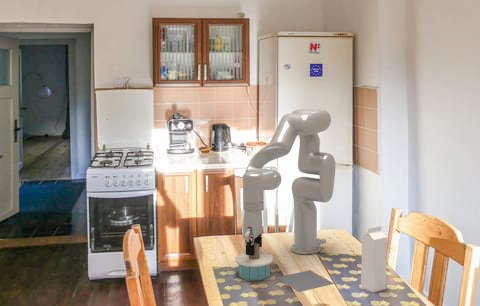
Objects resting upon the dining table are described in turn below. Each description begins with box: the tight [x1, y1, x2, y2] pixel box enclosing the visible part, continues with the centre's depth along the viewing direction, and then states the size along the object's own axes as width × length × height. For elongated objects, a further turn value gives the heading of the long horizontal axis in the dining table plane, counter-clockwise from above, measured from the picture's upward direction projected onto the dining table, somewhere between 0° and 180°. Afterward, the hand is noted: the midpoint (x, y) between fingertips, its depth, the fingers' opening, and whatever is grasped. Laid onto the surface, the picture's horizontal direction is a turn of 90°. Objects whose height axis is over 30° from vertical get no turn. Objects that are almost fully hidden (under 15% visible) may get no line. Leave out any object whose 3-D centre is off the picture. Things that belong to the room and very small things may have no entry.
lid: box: [234, 243, 274, 267], centre depth 191 cm, size 14×14×6 cm
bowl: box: [237, 263, 271, 282], centre depth 192 cm, size 12×12×6 cm
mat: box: [275, 270, 335, 293], centre depth 185 cm, size 15×15×1 cm
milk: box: [360, 225, 388, 293], centre depth 176 cm, size 6×6×22 cm
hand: (254, 250), depth 191 cm, fingers open, 9 cm apart
